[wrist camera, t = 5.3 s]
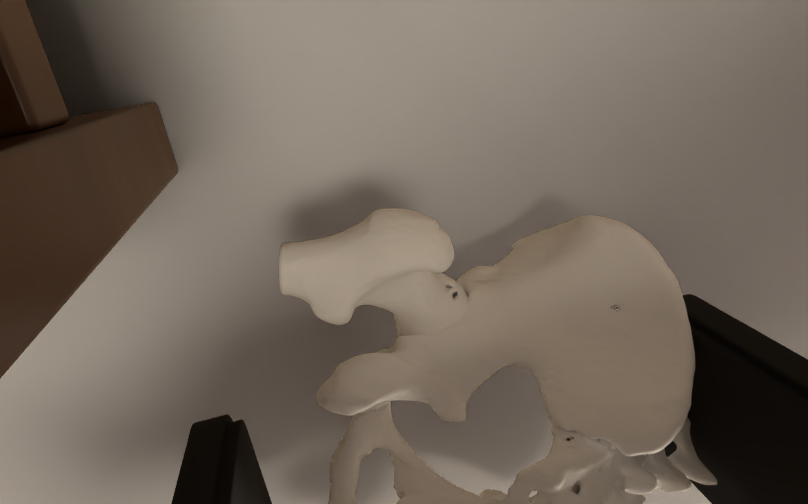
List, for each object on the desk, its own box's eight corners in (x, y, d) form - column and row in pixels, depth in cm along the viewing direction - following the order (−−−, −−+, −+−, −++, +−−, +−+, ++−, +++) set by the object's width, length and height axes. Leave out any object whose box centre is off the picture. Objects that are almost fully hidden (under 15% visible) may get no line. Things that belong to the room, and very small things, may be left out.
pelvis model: (260, 253, 5) (851, 264, 6) (293, 175, 9) (649, 188, 10) (274, 771, 8) (693, 726, 9) (295, 534, 12) (581, 520, 13)
